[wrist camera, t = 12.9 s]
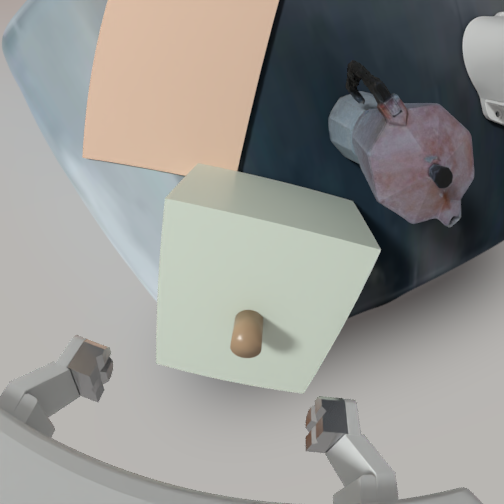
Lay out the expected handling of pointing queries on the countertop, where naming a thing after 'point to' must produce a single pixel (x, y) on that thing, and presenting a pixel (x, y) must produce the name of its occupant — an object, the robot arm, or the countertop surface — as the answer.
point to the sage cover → (256, 277)
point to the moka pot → (404, 149)
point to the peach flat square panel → (175, 82)
